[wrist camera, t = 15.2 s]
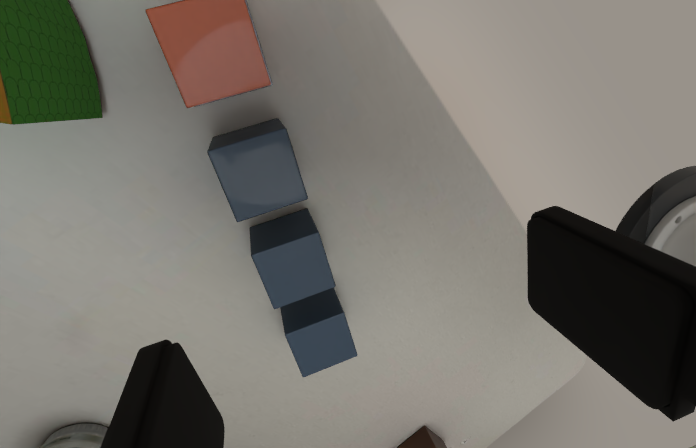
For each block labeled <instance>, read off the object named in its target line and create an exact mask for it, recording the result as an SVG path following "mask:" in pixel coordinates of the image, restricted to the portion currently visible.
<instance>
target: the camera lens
mask: <svg viewBox="0 0 696 448" xmlns="http://www.w3.org/2000/svg"><path fill="white" fill-rule="evenodd" d="M107 429H108V428H107V427H105V426H102V425H97V424H87V423H84V424H75V425H72V426H68V427H64V428H62V429H60V430H58V431H56V432H54V433H53V434H52V435H51V436H50V437H49V438H48V439H47V440H46V441H45V443H44V444H43V445H42V446H41V447H40V448H100V447H101V444H102V442H103V439H104V436H105V434H106V431H107Z"/></svg>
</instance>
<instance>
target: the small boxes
mask: <svg viewBox="0 0 696 448" xmlns="http://www.w3.org/2000/svg"><path fill="white" fill-rule="evenodd" d="M397 448H447V447H446V445H445V443H444V441H443V440H442V439H440V438H439V437H438V436H437V435H435V434H434V433H433V432H432V431H430V430H429V429H428V428H427V427H425V426H424V427H422V428H421V429H420V430H419V431H417V432H416V433H415V434H414V435H412V436H411V437H410V438H409V439H407V440H406V441H405V442H404V443H402V444H401V445H400V446H399V447H397Z"/></svg>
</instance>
